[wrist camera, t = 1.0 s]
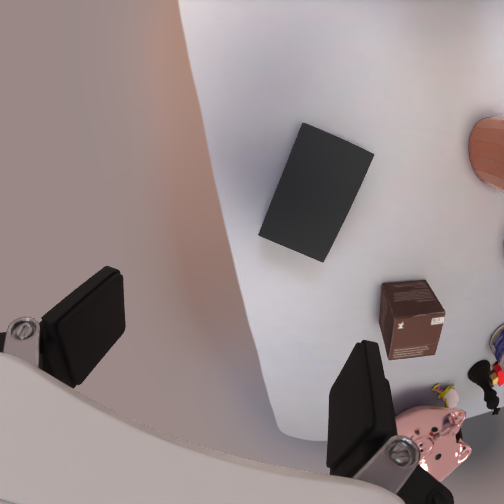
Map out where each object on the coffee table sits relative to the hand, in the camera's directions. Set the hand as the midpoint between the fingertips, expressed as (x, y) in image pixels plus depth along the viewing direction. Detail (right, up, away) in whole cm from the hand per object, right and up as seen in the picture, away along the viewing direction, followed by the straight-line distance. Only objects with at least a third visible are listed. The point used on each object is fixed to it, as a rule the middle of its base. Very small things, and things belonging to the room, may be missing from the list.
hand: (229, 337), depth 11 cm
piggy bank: (+21, -31, +26) cm, 46 cm away
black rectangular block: (+7, +10, +20) cm, 23 cm away
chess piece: (+38, -16, +24) cm, 48 cm away
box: (+20, -3, +23) cm, 30 cm away
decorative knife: (+36, -21, +26) cm, 49 cm away
